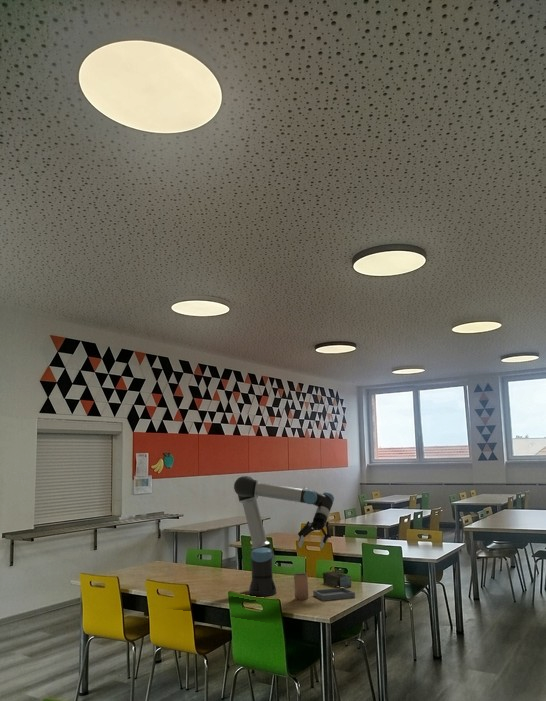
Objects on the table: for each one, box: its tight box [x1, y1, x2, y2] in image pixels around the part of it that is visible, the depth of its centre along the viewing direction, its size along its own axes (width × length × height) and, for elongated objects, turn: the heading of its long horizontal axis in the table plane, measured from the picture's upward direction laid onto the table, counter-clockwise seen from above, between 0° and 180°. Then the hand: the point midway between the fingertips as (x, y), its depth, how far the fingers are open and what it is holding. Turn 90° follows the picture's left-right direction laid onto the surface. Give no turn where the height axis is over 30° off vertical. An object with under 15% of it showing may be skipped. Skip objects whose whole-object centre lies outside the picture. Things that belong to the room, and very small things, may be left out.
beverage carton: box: [322, 570, 352, 588], centre depth 327 cm, size 8×19×7 cm, turn 26°
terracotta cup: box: [293, 572, 309, 601], centre depth 294 cm, size 7×7×12 cm
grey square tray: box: [312, 587, 356, 601], centre depth 295 cm, size 15×18×2 cm
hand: (310, 546), depth 307 cm, fingers open, 13 cm apart
